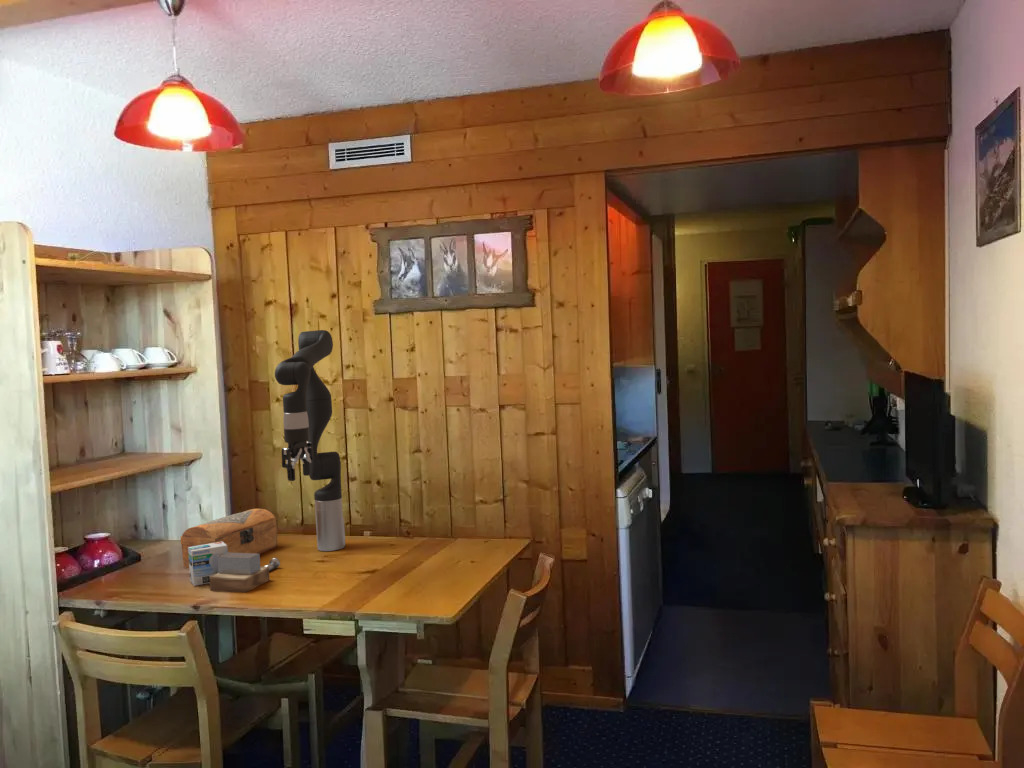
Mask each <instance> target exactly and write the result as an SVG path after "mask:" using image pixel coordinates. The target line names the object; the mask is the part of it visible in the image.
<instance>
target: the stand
mask: <svg viewBox="0 0 1024 768" xmlns="http://www.w3.org/2000/svg"><path fill="white" fill-rule="evenodd" d="M260 568H261V570H260V571H258V572H256V573H254V574H252V575H238V574H219V573H217V574H215V575H213V576H211V577H209V578H210V583H209V588H210V589H209V591H214V592H231V593H232V592H234V593H247V592H249V591H251V590H253V589H255V588H257V587H259V586H261V585H262V584H263V585H264V584H265V583H266V582H268V581H271V579H270V571H269V567H264V566H260Z"/></svg>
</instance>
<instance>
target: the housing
mask: <svg viewBox="0 0 1024 768" xmlns="http://www.w3.org/2000/svg"><path fill="white" fill-rule="evenodd" d="M260 555H261V553H260V554H256V553H230V552H228V553H226V554H223V555H221V556H218V557H217V558H218V572H219V574H238V575H252V574H254V573H256V572H258V571H260V570H261V568H260V567H261V556H260Z"/></svg>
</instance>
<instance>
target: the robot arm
mask: <svg viewBox="0 0 1024 768" xmlns="http://www.w3.org/2000/svg"><path fill="white" fill-rule="evenodd" d="M297 341H298V350H297V351H296V352H295V353H294V354H293V355H292V356H291V357H289V358H287V359H285V360H281V362H279V363H278V364H277V365H276V368H275V369H274V379H275V380H276V382H277V383H278V384H280V385H282V386H297V388H296V390H295V391H292V392H287V393H285V394H283V396H282V406H283V407H282V408H283V409H282V410H283V416H282V417H283V418H282V419H283V420H282V421H283V435H284V442H285V443H286V444H287V447H282V448H281V467H282V468H284V469H286V471H287V472H286V473H287V476H286V477H287V481H289V482H294V481H296V465H297V464H296V463H298V462H299V460H301V462H302V475H303V476H305V477H307V476H308V477H309V478H310V480H311V481H323V480H330V481H329V483H327V484H326V485H324V486H323V487H321V488H319V489H316V490H315V491H314V493H313V495H314V496H313V498H314V499H313V500H314V513H315V527H316V528H315V529H316V530H315V531H316V543H317V546H316V547H317V550H318V551H322V552H331V551H337V550H342V549H344V548H345V547H346V533H345V532H346V531H345V530H346V529H345V518H344V513H343V512H344V511H343V495H342V492H343V491H342V472H341V471H342V462H341V456H340V454H339V453H338V452H337V451H327V452H325V451H324V452H318V446H319V442H320V439H321V438H322V435H323V433H324V431H325V429H326V428H327V425H328V424H329V422H330V420H331V419H332V416H333V403H332V395H331V392H330V390H329V388H328V387H327V385H326V384H325V382H324V381H322V379H321V378H320V377H319V375H318V374H317V372H316V370H315V368H314V366H315V365H316V364H317V363H318V362H320V361H321V360H323V359H324V358H326V357H328V356H330V355H331V354H332V352H333V347H334V341H333V337H332V334H331V332H329V330H325V329H324V330H323V329H319V330H318V329H317V330H306V331H301V332H300V333H299V334H298V339H297Z"/></svg>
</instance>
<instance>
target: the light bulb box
mask: <svg viewBox="0 0 1024 768" xmlns="http://www.w3.org/2000/svg"><path fill="white" fill-rule="evenodd" d="M226 553H228V547H227V545H226V544H225V543H224V542H223V541H221V542H216V543H210V544H204V545H198V546H192V547H188V555H189V567H188V569H189V581H190V583H191V584H192V585H193V586H194V587H195V586H202V585H207V584H210V578H209V577H211V576H213V575H215V574H217V573H219V572H218V558H217V557H218V556H221V555H223V554H226Z"/></svg>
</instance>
